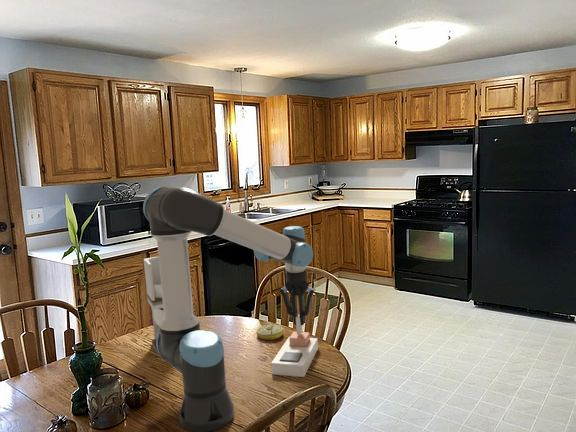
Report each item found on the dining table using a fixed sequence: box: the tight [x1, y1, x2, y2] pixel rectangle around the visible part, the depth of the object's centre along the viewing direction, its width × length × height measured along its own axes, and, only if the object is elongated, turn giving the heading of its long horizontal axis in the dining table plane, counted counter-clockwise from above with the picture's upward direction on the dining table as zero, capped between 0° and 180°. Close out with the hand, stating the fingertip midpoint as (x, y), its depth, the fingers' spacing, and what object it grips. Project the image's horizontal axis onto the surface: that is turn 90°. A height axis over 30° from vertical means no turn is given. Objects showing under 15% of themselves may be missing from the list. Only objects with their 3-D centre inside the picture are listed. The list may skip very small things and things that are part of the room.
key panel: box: [270, 336, 319, 378], centre depth 160 cm, size 22×11×4 cm, turn 164°
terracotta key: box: [289, 331, 311, 347], centre depth 165 cm, size 6×6×3 cm
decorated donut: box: [255, 323, 284, 341], centre depth 184 cm, size 10×11×4 cm
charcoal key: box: [280, 352, 302, 362], centre depth 154 cm, size 6×6×3 cm
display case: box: [143, 256, 164, 356], centre depth 176 cm, size 11×11×35 cm
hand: (299, 333), depth 165 cm, fingers closed
